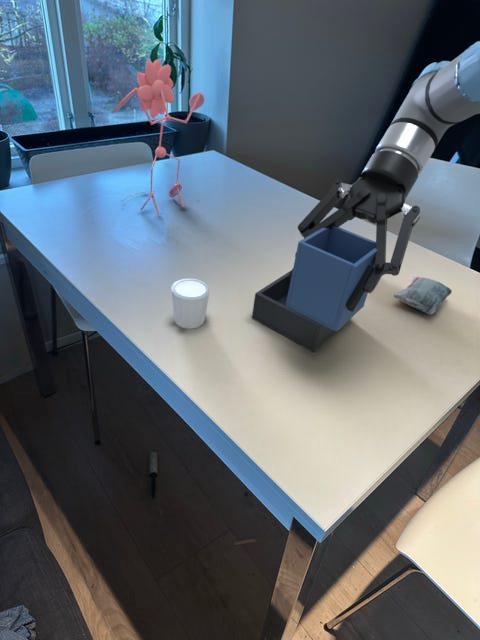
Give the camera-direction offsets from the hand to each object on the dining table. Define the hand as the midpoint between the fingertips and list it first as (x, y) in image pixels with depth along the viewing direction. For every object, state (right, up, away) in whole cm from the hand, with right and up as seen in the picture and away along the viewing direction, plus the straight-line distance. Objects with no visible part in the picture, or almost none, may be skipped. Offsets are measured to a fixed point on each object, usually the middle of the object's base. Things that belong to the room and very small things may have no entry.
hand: (319, 294), depth 66 cm
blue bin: (+2, -2, +4) cm, 5 cm away
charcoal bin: (0, -4, +22) cm, 22 cm away
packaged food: (+27, 0, +31) cm, 41 cm away
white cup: (-21, -4, +18) cm, 28 cm away
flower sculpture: (-35, +28, +58) cm, 74 cm away
